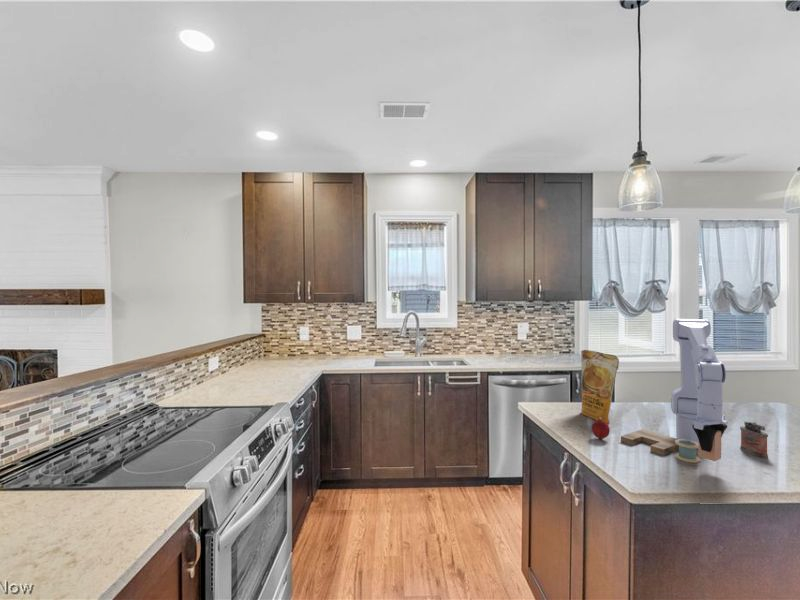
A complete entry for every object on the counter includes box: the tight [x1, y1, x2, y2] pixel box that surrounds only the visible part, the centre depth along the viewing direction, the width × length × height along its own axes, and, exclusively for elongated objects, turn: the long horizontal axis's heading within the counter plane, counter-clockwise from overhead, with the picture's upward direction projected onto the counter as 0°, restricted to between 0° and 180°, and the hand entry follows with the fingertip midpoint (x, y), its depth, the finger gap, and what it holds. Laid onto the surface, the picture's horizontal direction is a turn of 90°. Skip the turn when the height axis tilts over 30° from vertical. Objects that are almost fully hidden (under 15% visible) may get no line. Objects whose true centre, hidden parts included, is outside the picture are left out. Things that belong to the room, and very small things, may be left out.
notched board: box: [620, 428, 679, 456], centre depth 135 cm, size 14×14×2 cm
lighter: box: [739, 420, 769, 459], centre depth 126 cm, size 8×3×10 cm, turn 5°
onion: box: [591, 417, 611, 440], centre depth 140 cm, size 6×6×8 cm
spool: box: [674, 439, 701, 464], centre depth 123 cm, size 6×6×5 cm
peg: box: [698, 430, 722, 462], centre depth 113 cm, size 4×4×8 cm
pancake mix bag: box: [580, 349, 620, 424], centre depth 164 cm, size 7×19×28 cm, turn 13°
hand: (709, 449), depth 113 cm, fingers closed on peg, 4 cm apart
